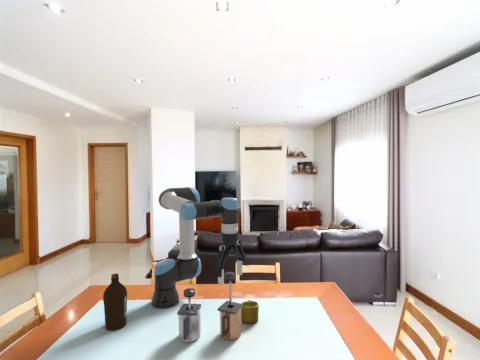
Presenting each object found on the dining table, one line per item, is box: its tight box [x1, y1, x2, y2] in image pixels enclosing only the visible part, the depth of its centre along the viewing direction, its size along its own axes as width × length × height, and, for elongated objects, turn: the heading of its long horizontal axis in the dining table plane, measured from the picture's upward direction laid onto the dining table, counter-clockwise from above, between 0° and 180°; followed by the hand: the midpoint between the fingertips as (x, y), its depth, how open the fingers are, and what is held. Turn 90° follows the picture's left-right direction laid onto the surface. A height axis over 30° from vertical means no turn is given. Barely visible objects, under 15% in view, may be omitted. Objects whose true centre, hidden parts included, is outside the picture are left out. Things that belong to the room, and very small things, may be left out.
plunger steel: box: [183, 287, 196, 310], centre depth 130 cm, size 6×6×18 cm
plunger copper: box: [224, 271, 237, 308], centre depth 131 cm, size 6×6×18 cm
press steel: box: [176, 303, 202, 344], centre depth 128 cm, size 12×9×13 cm
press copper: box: [217, 300, 243, 341], centre depth 130 cm, size 12×9×13 cm
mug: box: [240, 299, 260, 324], centre depth 145 cm, size 12×10×10 cm
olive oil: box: [102, 273, 128, 331], centre depth 139 cm, size 11×11×25 cm
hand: (230, 279), depth 130 cm, fingers open, 13 cm apart
